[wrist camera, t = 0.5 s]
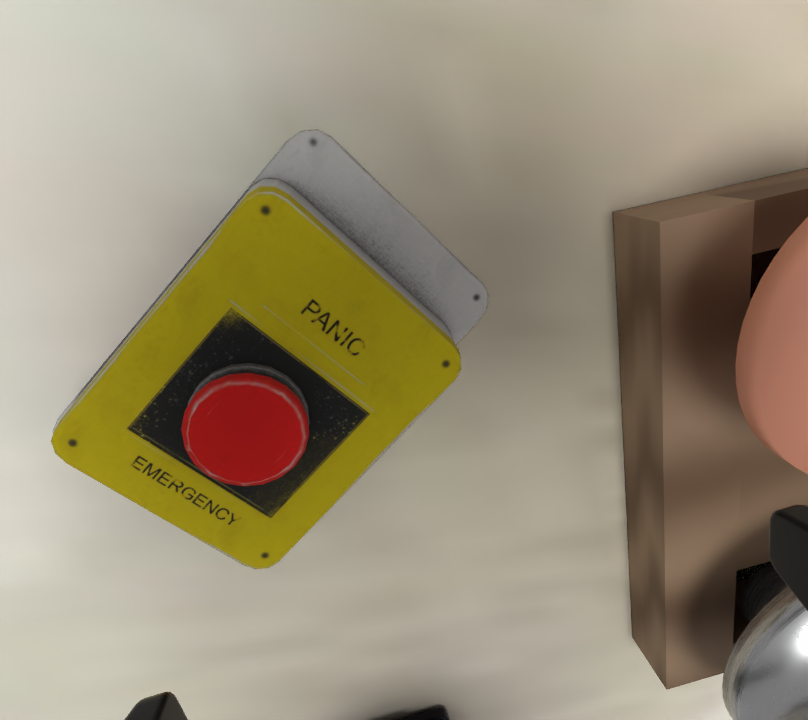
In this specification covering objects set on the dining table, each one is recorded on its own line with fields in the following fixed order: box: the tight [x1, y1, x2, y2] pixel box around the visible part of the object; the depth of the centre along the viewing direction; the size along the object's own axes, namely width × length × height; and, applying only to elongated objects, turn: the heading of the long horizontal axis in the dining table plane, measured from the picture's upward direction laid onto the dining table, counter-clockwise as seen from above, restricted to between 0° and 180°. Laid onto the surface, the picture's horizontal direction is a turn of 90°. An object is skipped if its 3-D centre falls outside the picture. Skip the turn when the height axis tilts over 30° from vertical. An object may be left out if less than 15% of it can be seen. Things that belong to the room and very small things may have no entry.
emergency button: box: [51, 130, 488, 569], centre depth 19 cm, size 9×4×15 cm
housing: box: [613, 168, 808, 689], centre depth 24 cm, size 22×11×3 cm, turn 11°
